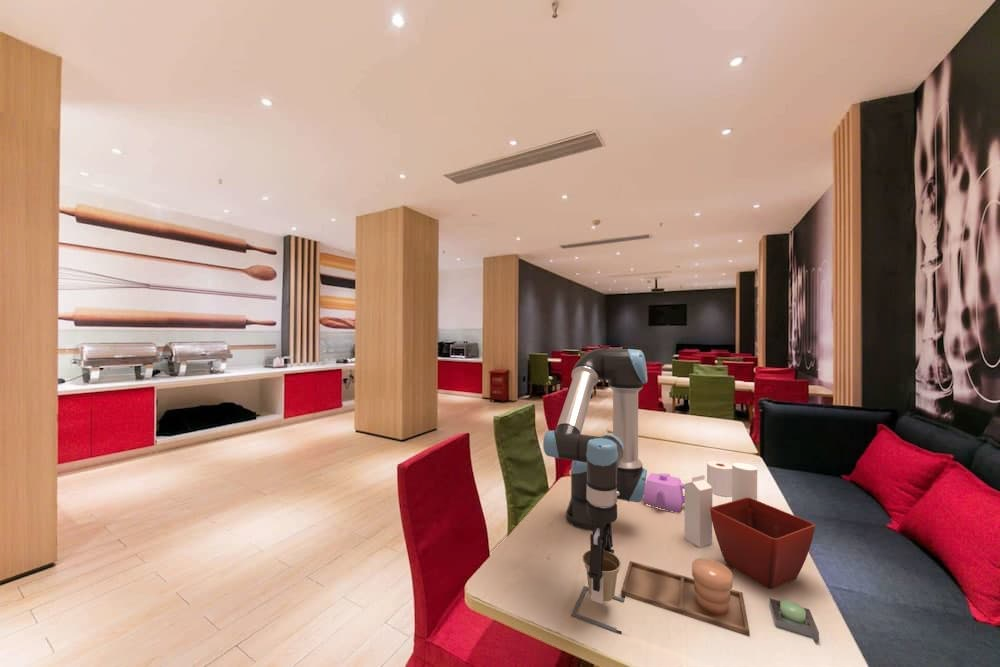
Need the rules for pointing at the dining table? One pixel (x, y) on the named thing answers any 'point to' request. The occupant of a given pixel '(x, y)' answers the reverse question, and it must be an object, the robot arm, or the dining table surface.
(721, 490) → the toilet paper
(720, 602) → the stacked pebble cairn
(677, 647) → the dining table surface
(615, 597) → the square
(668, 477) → the teakettle
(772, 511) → the plant pot
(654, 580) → the brown divided tray
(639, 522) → the dining table surface
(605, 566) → the flower pot
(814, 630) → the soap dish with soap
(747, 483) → the cylindrical container
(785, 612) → the green soap bar
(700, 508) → the milk
